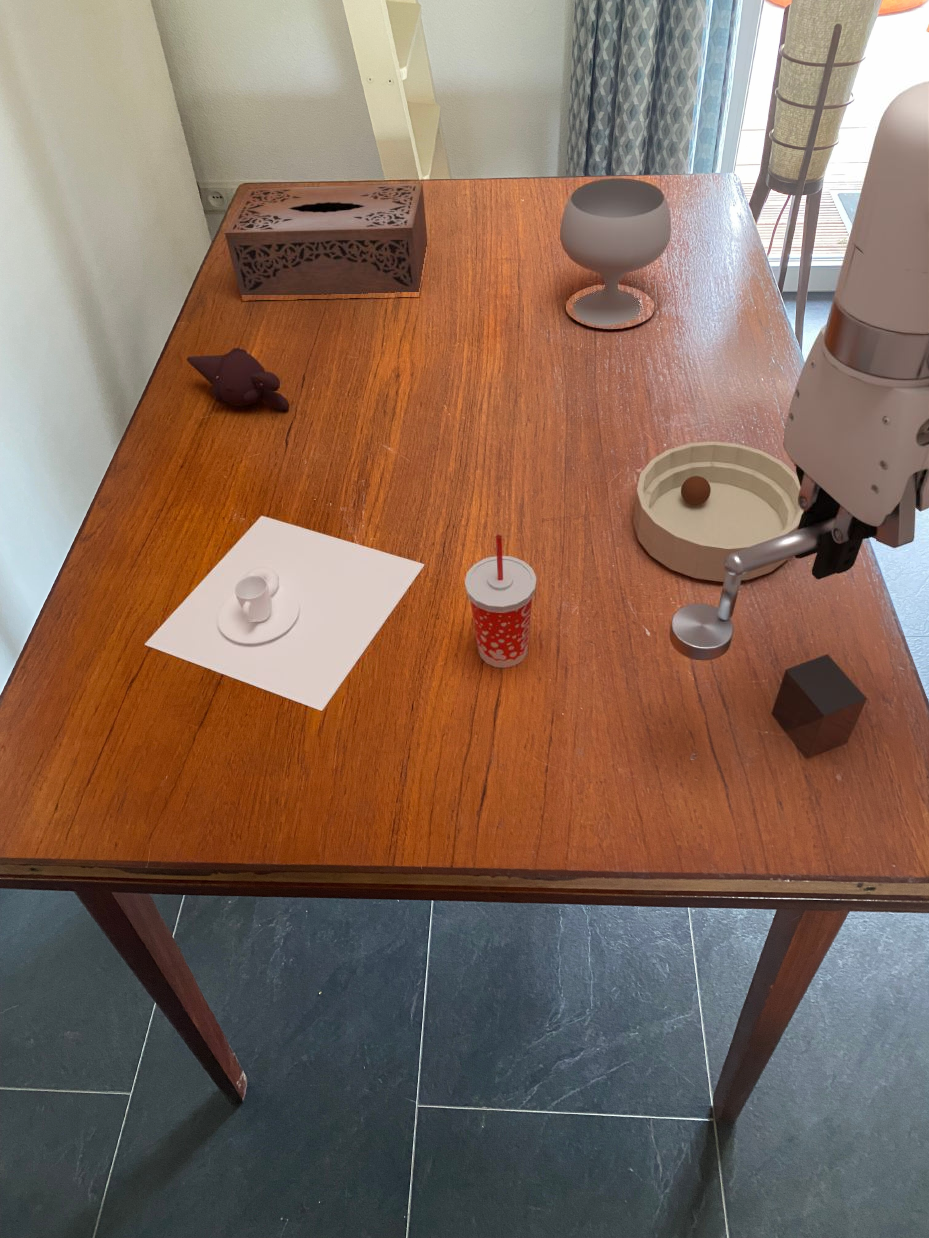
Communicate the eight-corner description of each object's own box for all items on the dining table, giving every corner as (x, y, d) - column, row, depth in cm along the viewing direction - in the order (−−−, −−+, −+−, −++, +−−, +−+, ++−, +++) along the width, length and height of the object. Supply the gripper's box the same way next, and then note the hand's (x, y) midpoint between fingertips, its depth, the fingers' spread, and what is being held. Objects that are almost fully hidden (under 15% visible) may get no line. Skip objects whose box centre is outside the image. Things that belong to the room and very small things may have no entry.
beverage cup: (506, 685, 81) (502, 574, 70) (456, 651, 84) (445, 540, 73) (549, 645, 84) (552, 533, 73) (500, 614, 87) (495, 502, 76)
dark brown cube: (810, 698, 78) (827, 653, 74) (847, 742, 75) (867, 698, 70) (771, 713, 77) (785, 669, 73) (806, 759, 74) (823, 715, 70)
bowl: (738, 463, 100) (745, 426, 96) (829, 556, 89) (842, 518, 86) (606, 504, 96) (609, 467, 93) (685, 605, 86) (691, 568, 82)
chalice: (675, 329, 119) (689, 215, 108) (570, 342, 118) (574, 228, 107) (646, 278, 129) (656, 168, 117) (549, 290, 128) (550, 181, 117)
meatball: (698, 489, 96) (702, 467, 94) (714, 506, 94) (718, 483, 92) (673, 497, 96) (677, 475, 94) (688, 514, 94) (692, 491, 92)
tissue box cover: (242, 301, 131) (224, 233, 123) (263, 254, 140) (248, 188, 133) (419, 297, 129) (412, 228, 121) (428, 250, 138) (422, 183, 131)
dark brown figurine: (158, 359, 109) (257, 399, 105) (195, 317, 112) (293, 354, 107) (180, 398, 115) (275, 437, 111) (214, 357, 118) (308, 394, 113)
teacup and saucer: (253, 572, 92) (244, 543, 89) (319, 594, 90) (312, 564, 87) (201, 632, 87) (190, 603, 84) (270, 656, 85) (261, 627, 82)
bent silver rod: (857, 555, 71) (884, 478, 65) (895, 591, 68) (927, 515, 63) (657, 627, 67) (669, 553, 62) (689, 669, 64) (704, 595, 59)
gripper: (1055, 381, 48) (940, 617, 61) (859, 258, 58) (798, 484, 71) (940, 420, 46) (848, 653, 60) (759, 286, 56) (715, 511, 70)
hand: (821, 559), depth 65 cm, fingers closed on bent silver rod
